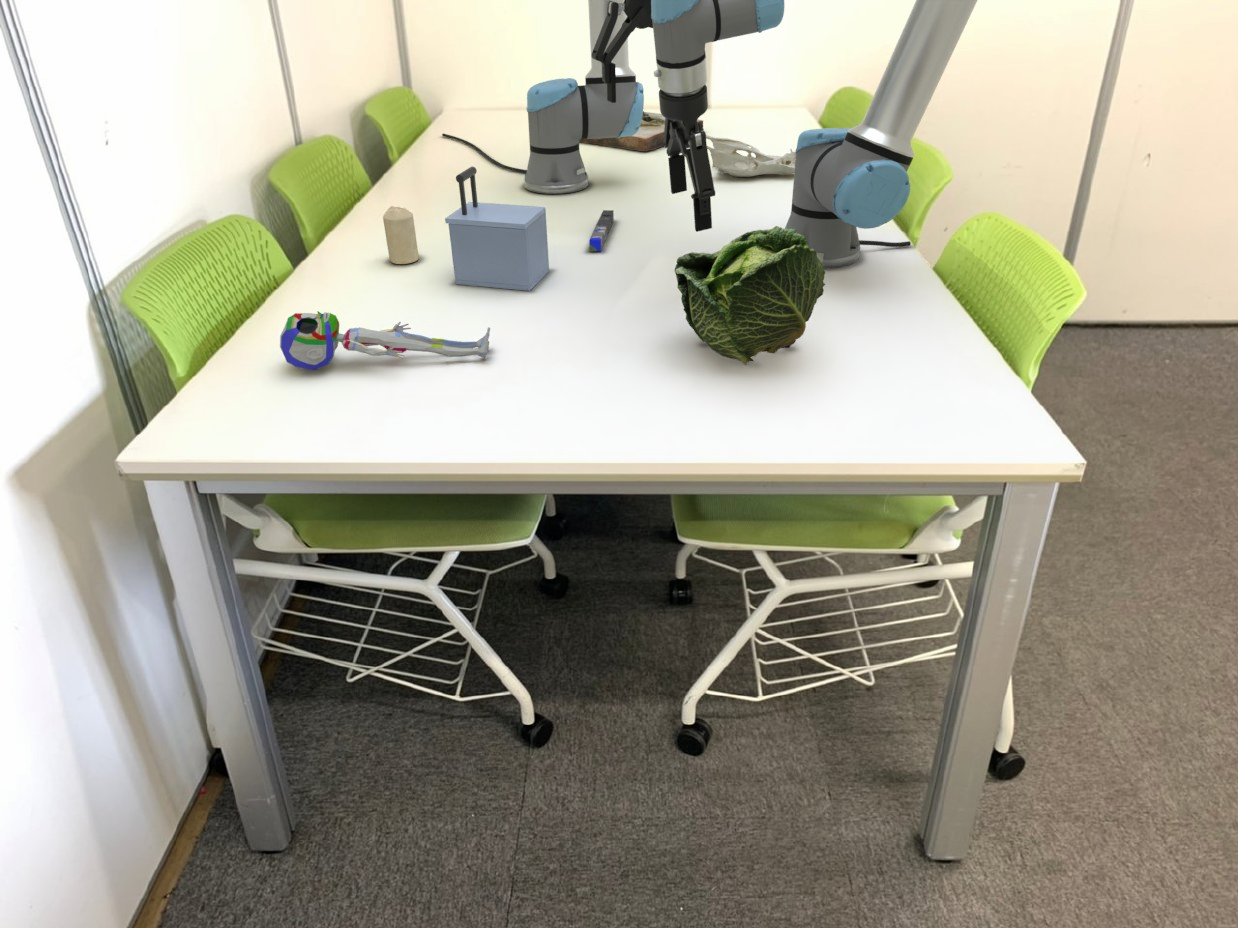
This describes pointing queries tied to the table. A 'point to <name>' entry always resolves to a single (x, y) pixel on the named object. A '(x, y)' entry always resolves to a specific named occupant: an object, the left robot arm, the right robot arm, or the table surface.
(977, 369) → the table surface
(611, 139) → the plaque
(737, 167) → the anatomical model
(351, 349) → the toy
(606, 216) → the pillar
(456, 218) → the lid
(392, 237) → the candle
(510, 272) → the chest
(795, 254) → the vegetable
